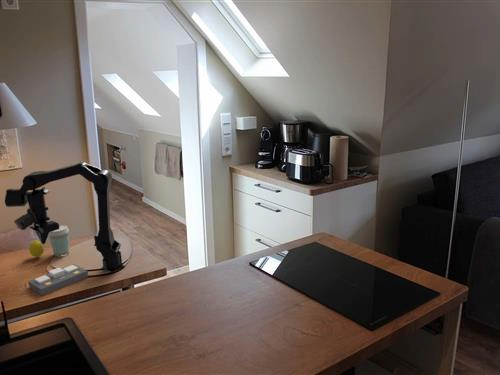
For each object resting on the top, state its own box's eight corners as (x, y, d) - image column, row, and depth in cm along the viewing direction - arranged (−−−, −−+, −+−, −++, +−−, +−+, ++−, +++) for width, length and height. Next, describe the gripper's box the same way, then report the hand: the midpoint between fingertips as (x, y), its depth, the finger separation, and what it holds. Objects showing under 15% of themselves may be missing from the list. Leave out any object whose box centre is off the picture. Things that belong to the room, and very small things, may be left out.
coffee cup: (68, 248, 195) (64, 223, 192) (75, 254, 189) (71, 228, 186) (48, 253, 190) (44, 228, 187) (54, 260, 184) (50, 233, 180)
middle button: (59, 272, 167) (58, 267, 167) (65, 275, 165) (64, 270, 164) (49, 276, 164) (48, 271, 164) (54, 279, 162) (54, 274, 161)
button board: (74, 269, 174) (73, 263, 174) (88, 276, 168) (87, 270, 168) (29, 287, 161) (28, 280, 160) (42, 295, 155) (41, 288, 154)
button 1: (46, 279, 164) (45, 275, 163) (51, 283, 161) (50, 278, 161) (35, 284, 161) (34, 279, 160) (40, 287, 158) (39, 282, 158)
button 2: (73, 269, 172) (72, 264, 171) (78, 272, 169) (78, 267, 169) (63, 273, 169) (63, 268, 168) (69, 276, 166) (68, 271, 166)
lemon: (47, 255, 189) (44, 237, 187) (40, 260, 184) (37, 242, 182) (35, 254, 190) (32, 237, 188) (28, 260, 184) (24, 242, 182)
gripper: (4, 206, 166) (11, 244, 170) (26, 216, 154) (33, 256, 158) (34, 199, 174) (39, 235, 178) (57, 207, 162) (63, 246, 166)
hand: (43, 243), depth 170 cm, fingers closed
